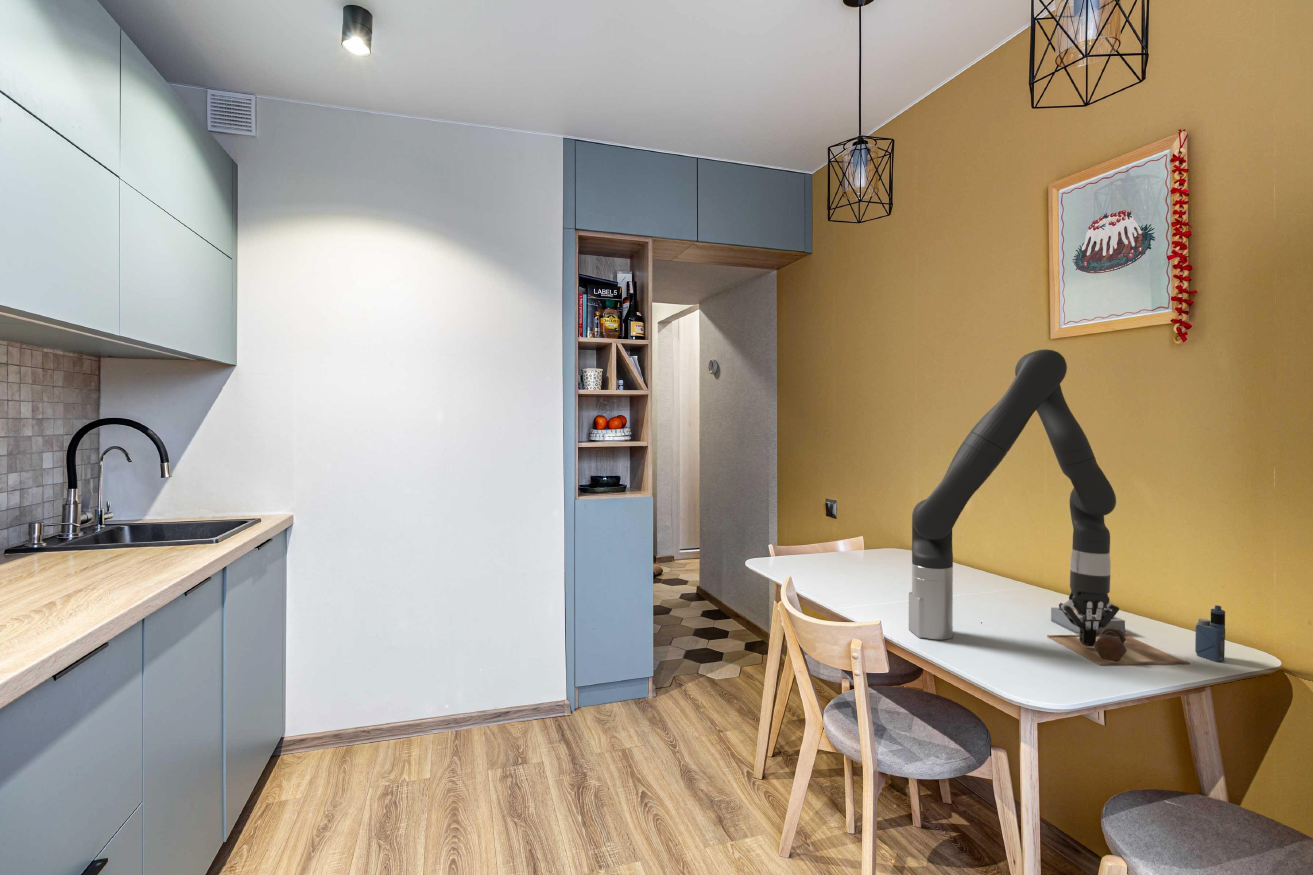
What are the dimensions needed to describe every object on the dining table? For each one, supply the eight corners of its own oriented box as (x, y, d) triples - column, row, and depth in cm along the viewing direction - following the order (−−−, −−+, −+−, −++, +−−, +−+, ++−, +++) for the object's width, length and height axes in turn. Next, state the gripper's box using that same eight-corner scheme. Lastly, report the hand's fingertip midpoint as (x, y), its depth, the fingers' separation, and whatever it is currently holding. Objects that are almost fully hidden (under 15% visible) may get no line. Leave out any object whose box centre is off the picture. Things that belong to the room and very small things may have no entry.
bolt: (1117, 649, 146) (1113, 666, 134) (1094, 634, 149) (1089, 650, 137) (1132, 630, 144) (1130, 646, 132) (1109, 615, 147) (1105, 630, 135)
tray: (1080, 635, 151) (1080, 621, 151) (1051, 620, 162) (1051, 607, 162) (1124, 634, 151) (1124, 620, 151) (1092, 620, 162) (1092, 607, 162)
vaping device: (1219, 663, 133) (1220, 608, 133) (1192, 654, 138) (1193, 601, 138) (1227, 661, 134) (1228, 607, 134) (1200, 653, 139) (1201, 600, 139)
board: (1100, 665, 133) (1100, 663, 133) (1047, 636, 150) (1047, 635, 150) (1189, 663, 133) (1189, 662, 133) (1126, 635, 151) (1126, 634, 151)
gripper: (1072, 574, 137) (1070, 651, 138) (1131, 574, 138) (1128, 651, 138) (1050, 566, 145) (1048, 639, 145) (1106, 566, 145) (1103, 639, 146)
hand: (1087, 644), depth 142 cm, fingers closed
